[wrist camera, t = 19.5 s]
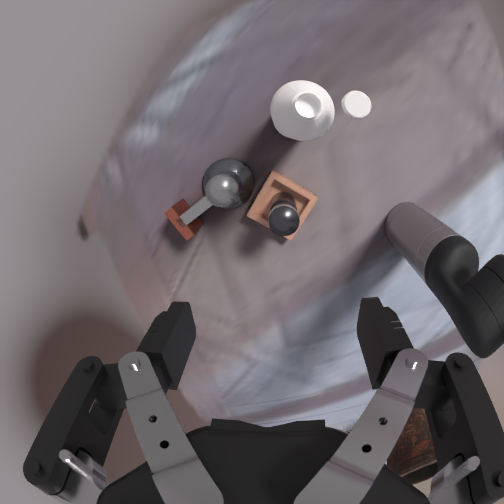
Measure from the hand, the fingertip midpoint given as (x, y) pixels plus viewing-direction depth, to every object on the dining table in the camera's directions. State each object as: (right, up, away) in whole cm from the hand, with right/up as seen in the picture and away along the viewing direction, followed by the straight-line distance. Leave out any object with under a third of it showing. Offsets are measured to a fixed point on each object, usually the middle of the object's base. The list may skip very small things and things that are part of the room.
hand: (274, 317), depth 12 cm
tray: (+4, +12, +36) cm, 38 cm away
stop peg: (+4, +11, +36) cm, 38 cm away
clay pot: (+53, -48, +59) cm, 92 cm away
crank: (-8, +13, +36) cm, 39 cm away
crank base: (-5, +15, +36) cm, 39 cm away
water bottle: (+7, +25, +30) cm, 40 cm away
